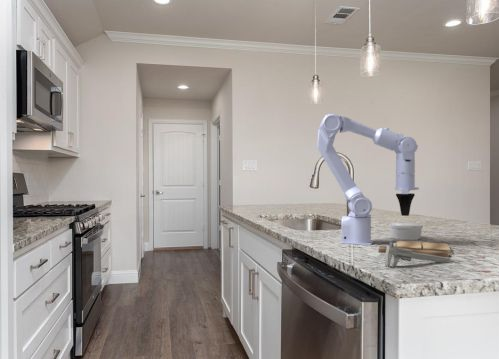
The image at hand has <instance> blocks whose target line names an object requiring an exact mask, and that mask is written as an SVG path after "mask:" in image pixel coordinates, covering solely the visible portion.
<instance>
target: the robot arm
mask: <svg viewBox="0 0 499 359" xmlns="http://www.w3.org/2000/svg"><path fill="white" fill-rule="evenodd" d="M346 132H351V133H353V134H357V135H360V136H362V137H365V138H369V139H371V140H372V142H373V144H374V145H376V146H379V147H381V148H385V149H387V150H390V151H393V152H395V155H396V157H395V158H396V160H395V187H394V190H395V191H401V193H396V194H395V196H396V199H397V200H398V205H399V209H400V213H401V214H400V215H401V216H402V217H403V216H406V217H408V216H409V215H410V212H411V206H412V202H413V199H414V197H415V196H416V195H415V193H410V192H411V191H416V190H419V187H418V186H417V187H416V186H415V185H416V184H415V183H416V178H415V176H416V175H415V174H416V173H415V172H416V169H415V168H416V160H415V158H416V157H415V154H416V153H415V152H417V151H418V150H417V149H418V147H419V145H418V144H417V142H416V140H415V138H413V137H411V136H404V134H403V133H397V132H395V131H392V130H390V128H389V127H387V126H386V127H384V128H383V127H380V128H378V129H375V128H373V127H370V126H368V125H366V124H363V123H362V122H359V121H356V120H354V119H352V118H349V117H346V116H344V115H338V114H336V113H328V114H326V115H325V116H324V117H323V118H322V121H321V122H320V125H319V127H318V129H317V144H316V146H317V147H316V148H317V150H318V152H319V153H320V155H321V157H322V158H323V160H324V162H325V163H326V165H327V167H328V168H329V170H330V172H331V173H332V175H333V177H334V178H335V181H336V182H337V183H338V186H339V187H340V188H341V190H342V192H343V194H344V197H345V200H346V201H347V206H348V209H349V213H348V215H342V217H341V224H340V225H341V231H340V235H341V236H340V237H341V238H340V239H341V242H340V244H347V245H361V246H372V244H373V242H374V241H373V239H372V235H371V234H372V215H371V214H370V213H371V211H372V209H373V203H372V202H371V200H370V199H369V198H368V197H366V196H365V195H364V194H363V192H362V191H361V189H360V188H359V187H358V185H357V184H356V182H355V181H354V179H353V178H352V175H351V174H350V171H349V170H348V169H347V167H346V166H345V164H344V163H343V160H342V159H341V157H340V156H339V154H338V152H337V151H336V148H335V147H334V145H333V144H334V142H335V139H336V135H337V134H338V133H346ZM371 239H372V240H371Z"/></svg>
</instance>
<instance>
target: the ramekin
mask: <svg viewBox="0 0 499 359" xmlns="http://www.w3.org/2000/svg"><path fill="white" fill-rule="evenodd" d="M388 229H389V233H390V237H391V238H392V239H394V240H398V241H418V240H420V239H421V235H422V229H423V224H420V223H415V222H391V223H389V224H388Z"/></svg>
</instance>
